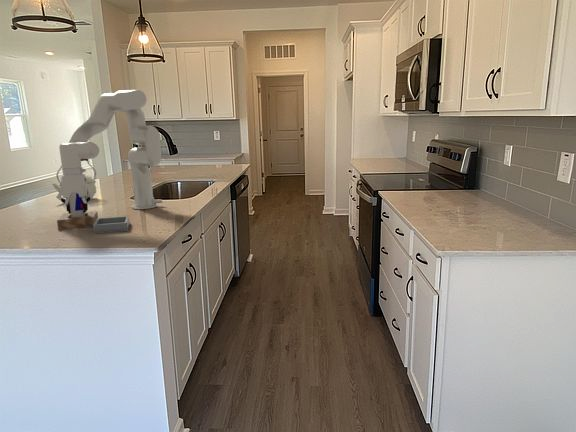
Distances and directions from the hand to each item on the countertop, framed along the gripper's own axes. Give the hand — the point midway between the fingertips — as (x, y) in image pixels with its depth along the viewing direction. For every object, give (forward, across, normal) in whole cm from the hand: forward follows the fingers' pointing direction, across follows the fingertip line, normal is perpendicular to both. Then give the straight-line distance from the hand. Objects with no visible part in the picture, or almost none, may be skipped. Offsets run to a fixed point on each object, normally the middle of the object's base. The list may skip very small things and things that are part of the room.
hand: (77, 212), depth 178 cm
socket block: (+5, 0, 0) cm, 5 cm away
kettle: (+6, +11, -64) cm, 65 cm away
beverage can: (+6, 0, 0) cm, 6 cm away
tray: (+5, -15, +13) cm, 21 cm away
